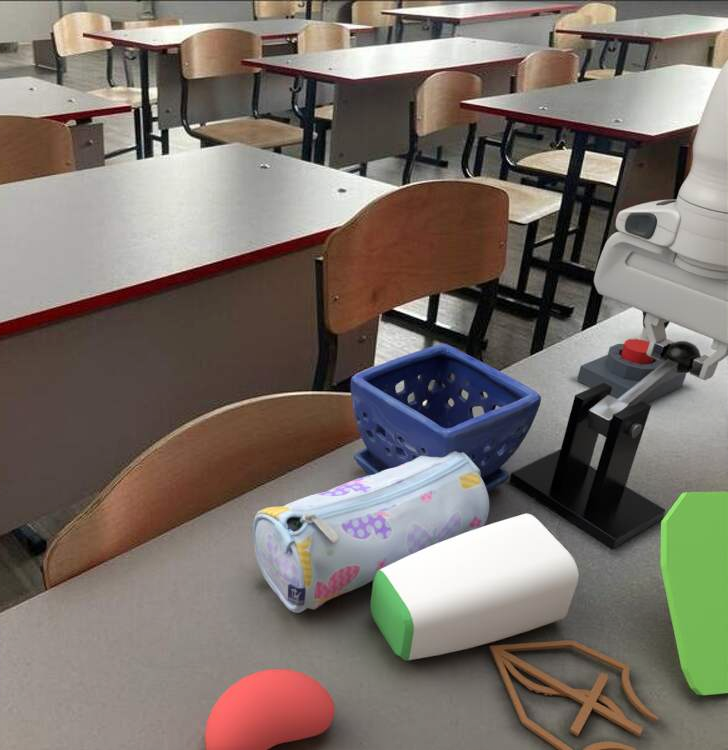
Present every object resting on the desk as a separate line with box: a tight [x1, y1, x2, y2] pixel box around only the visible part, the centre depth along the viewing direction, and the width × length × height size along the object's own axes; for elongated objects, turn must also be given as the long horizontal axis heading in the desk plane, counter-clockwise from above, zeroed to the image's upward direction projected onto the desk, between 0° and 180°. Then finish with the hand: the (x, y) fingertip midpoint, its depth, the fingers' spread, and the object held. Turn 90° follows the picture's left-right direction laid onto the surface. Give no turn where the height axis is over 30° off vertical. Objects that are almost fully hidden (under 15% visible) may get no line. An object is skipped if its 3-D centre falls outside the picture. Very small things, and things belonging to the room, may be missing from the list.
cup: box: [370, 513, 580, 662], centre depth 64 cm, size 7×7×15 cm
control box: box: [576, 343, 687, 404], centre depth 99 cm, size 10×8×4 cm
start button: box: [621, 338, 654, 364], centre depth 98 cm, size 4×4×2 cm
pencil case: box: [252, 451, 490, 614], centre depth 69 cm, size 21×9×10 cm, turn 118°
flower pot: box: [350, 343, 542, 493], centre depth 79 cm, size 13×13×12 cm
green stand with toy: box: [659, 490, 728, 696], centre depth 65 cm, size 15×15×6 cm
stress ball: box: [204, 668, 336, 750], centre depth 55 cm, size 5×9×6 cm
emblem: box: [489, 639, 659, 750], centre depth 59 cm, size 12×10×1 cm
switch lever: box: [588, 340, 702, 438], centre depth 76 cm, size 14×3×3 cm, turn 122°
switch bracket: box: [509, 383, 666, 550], centre depth 77 cm, size 8×12×12 cm, turn 33°
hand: (678, 366), depth 79 cm, fingers closed on switch lever, 3 cm apart
